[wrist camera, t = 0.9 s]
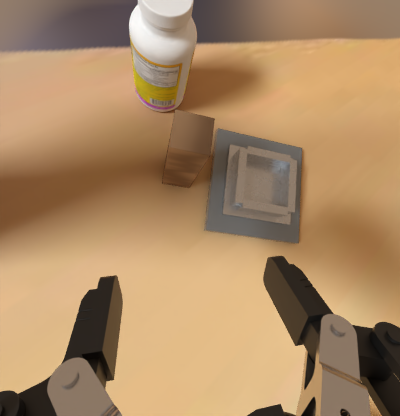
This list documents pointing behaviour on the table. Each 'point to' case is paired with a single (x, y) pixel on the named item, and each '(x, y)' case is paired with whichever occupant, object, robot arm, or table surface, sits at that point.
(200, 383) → the table surface
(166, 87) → the supplement bottle
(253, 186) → the open square frame
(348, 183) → the table surface
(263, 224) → the coaster
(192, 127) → the brown wooden block
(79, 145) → the table surface
